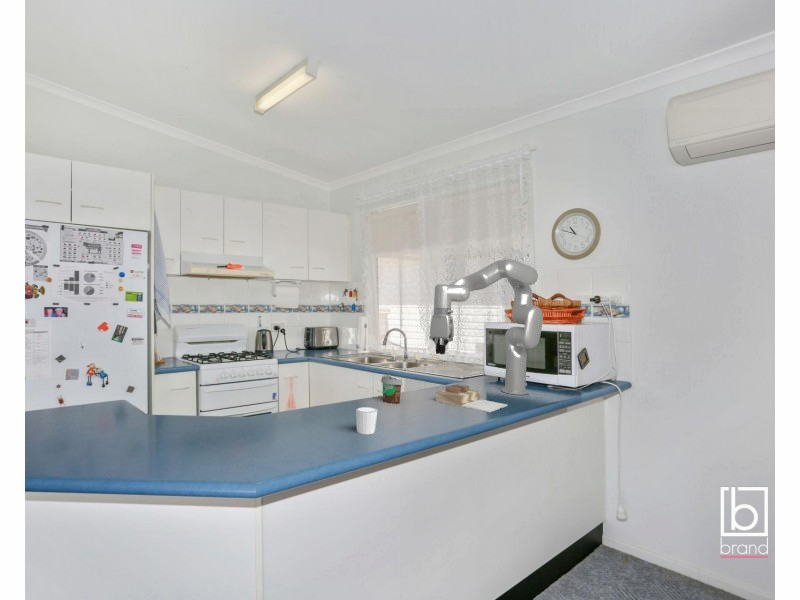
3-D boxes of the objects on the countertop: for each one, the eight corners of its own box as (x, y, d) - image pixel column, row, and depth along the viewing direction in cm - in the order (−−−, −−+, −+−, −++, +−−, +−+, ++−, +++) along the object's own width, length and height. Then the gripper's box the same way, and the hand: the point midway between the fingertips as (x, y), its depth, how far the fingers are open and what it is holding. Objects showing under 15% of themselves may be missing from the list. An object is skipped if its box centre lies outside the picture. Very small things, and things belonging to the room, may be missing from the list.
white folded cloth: (480, 400, 190) (480, 399, 190) (507, 405, 183) (507, 404, 183) (461, 406, 178) (461, 405, 178) (489, 412, 170) (489, 411, 170)
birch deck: (455, 395, 198) (456, 386, 198) (479, 400, 191) (479, 391, 191) (435, 401, 186) (436, 391, 186) (460, 406, 178) (460, 396, 178)
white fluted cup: (379, 429, 141) (380, 408, 141) (372, 436, 134) (373, 413, 134) (359, 427, 143) (360, 405, 143) (351, 433, 136) (352, 410, 136)
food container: (375, 398, 186) (376, 374, 186) (388, 397, 188) (389, 374, 188) (387, 405, 174) (388, 380, 174) (401, 404, 177) (402, 379, 177)
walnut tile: (456, 388, 194) (457, 384, 194) (468, 391, 190) (468, 386, 190) (445, 391, 187) (446, 386, 187) (457, 393, 183) (458, 389, 183)
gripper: (461, 313, 193) (460, 355, 193) (432, 311, 202) (430, 351, 202) (452, 313, 187) (450, 356, 187) (422, 311, 197) (421, 352, 196)
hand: (440, 353), depth 195 cm, fingers closed
